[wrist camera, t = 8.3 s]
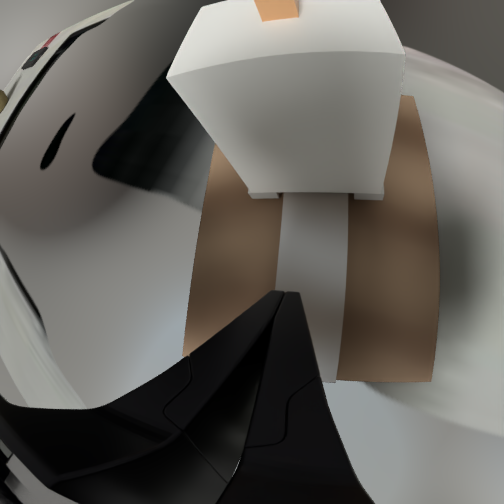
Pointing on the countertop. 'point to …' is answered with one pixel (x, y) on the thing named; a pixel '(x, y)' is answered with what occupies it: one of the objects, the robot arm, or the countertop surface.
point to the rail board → (330, 264)
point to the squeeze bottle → (2, 100)
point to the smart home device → (34, 58)
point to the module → (296, 92)
